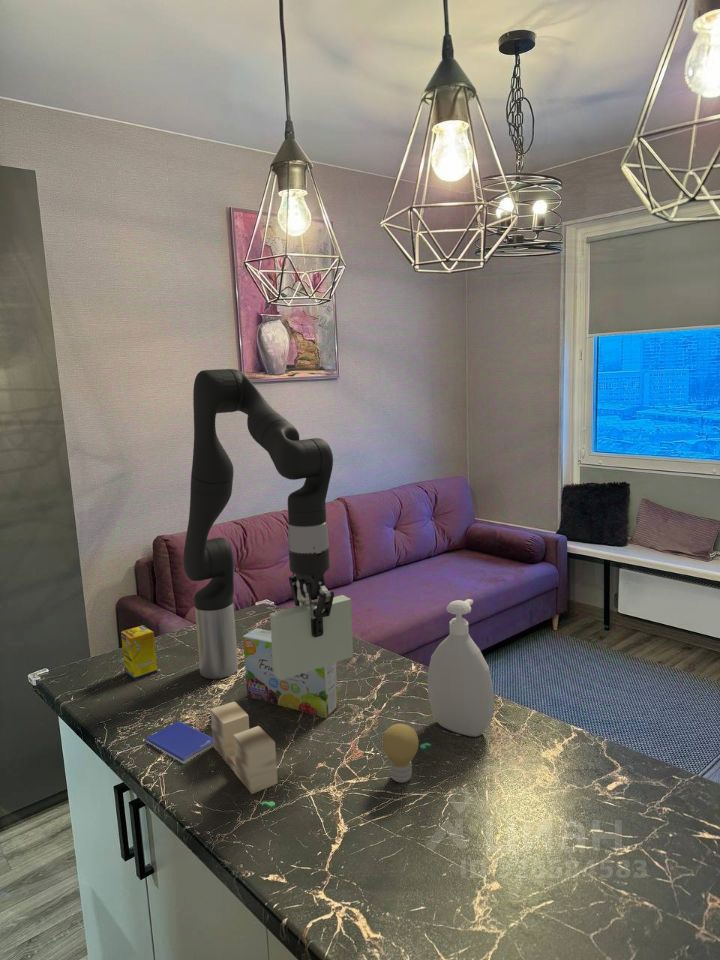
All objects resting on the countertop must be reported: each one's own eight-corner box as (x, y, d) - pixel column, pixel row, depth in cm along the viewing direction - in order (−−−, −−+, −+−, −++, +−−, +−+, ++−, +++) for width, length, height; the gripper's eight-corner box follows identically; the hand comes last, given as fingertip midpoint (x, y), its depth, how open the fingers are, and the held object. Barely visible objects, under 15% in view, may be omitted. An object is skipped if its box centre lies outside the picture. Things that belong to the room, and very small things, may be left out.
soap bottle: (503, 728, 131) (503, 600, 126) (485, 747, 124) (484, 613, 120) (441, 708, 140) (438, 587, 135) (420, 725, 133) (418, 599, 129)
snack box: (245, 699, 147) (241, 635, 144) (260, 687, 152) (256, 626, 149) (326, 719, 137) (323, 652, 134) (339, 707, 142) (336, 641, 139)
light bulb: (425, 773, 117) (424, 722, 116) (409, 793, 112) (408, 740, 110) (393, 763, 120) (392, 713, 119) (376, 783, 115) (375, 731, 113)
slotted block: (213, 746, 128) (210, 709, 127) (237, 738, 131) (234, 701, 129) (251, 794, 113) (248, 752, 112) (277, 783, 116) (275, 742, 115)
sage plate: (273, 674, 123) (269, 613, 121) (345, 651, 131) (342, 594, 129) (280, 680, 120) (277, 618, 118) (353, 656, 129) (351, 599, 127)
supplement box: (124, 673, 162) (120, 631, 160) (147, 665, 166) (143, 624, 164) (134, 681, 157) (130, 638, 155) (157, 672, 161) (154, 630, 159)
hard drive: (217, 739, 129) (180, 720, 137) (183, 759, 123) (145, 737, 130) (218, 746, 129) (180, 727, 137) (183, 766, 123) (146, 744, 131)
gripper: (273, 541, 126) (278, 626, 129) (309, 558, 114) (314, 650, 117) (307, 535, 130) (311, 617, 133) (345, 550, 118) (349, 640, 121)
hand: (312, 632), depth 125 cm, fingers closed on sage plate, 3 cm apart
